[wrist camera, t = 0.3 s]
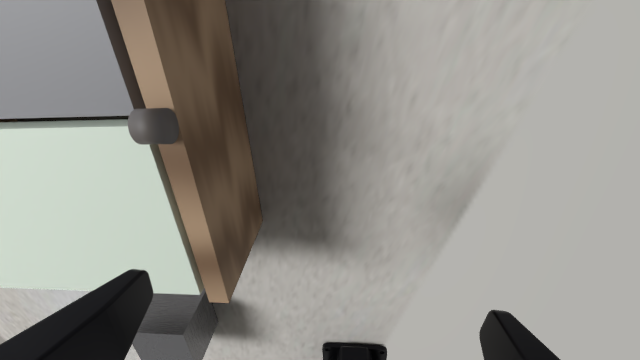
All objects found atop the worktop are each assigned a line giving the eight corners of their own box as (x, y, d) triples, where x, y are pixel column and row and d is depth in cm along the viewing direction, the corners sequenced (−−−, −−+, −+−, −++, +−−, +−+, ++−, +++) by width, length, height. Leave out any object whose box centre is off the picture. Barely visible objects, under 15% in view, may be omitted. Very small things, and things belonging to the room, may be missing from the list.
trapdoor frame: (-86, -38, 18) (-451, -76, 10) (214, -63, 16) (74, -136, 8) (58, 218, 27) (-71, 311, 19) (262, 220, 25) (220, 324, 17)
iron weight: (218, 321, 32) (197, 370, 28) (172, 319, 33) (145, 367, 28) (207, 287, 30) (182, 335, 25) (158, 285, 30) (125, 332, 26)
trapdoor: (-139, -23, 15) (-295, -32, 11) (151, -46, 14) (78, -66, 10) (31, 242, 23) (-29, 286, 19) (225, 246, 22) (200, 294, 18)
